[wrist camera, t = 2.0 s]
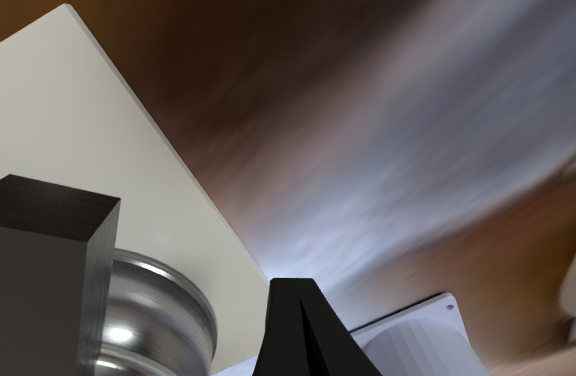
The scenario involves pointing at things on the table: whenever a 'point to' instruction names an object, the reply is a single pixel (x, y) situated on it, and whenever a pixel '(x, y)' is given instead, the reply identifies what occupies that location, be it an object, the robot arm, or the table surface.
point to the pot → (159, 315)
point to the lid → (59, 282)
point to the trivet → (123, 169)
